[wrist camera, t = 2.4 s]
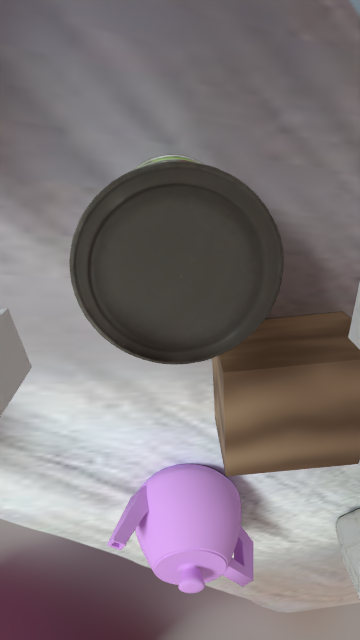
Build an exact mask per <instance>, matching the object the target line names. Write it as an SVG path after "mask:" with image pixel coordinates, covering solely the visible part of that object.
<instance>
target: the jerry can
mask: <svg viewBox="0 0 360 640" xmlns="http://www.w3.org/2000/svg"><path fill="white" fill-rule="evenodd" d="M336 532H337V536H338V541H339V546H340V551H341V555H342V559H343V562H344V564H345V566H346V569H347V571H348V573H349V576H350V578H351V580H352V583H353V585H354V587H355V590H356V592H357V594H358V596H359V599H360V508H359V509H357V510H355V511H353V512H350V513H348V514H346V515H344V516H342V517H340V518H339V519H338V520H337V523H336Z"/></svg>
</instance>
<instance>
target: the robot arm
mask: <svg viewBox="0 0 360 640" xmlns="http://www.w3.org/2000/svg"><path fill="white" fill-rule="evenodd" d="M348 338H349V339H350V340H351V341H352V342H353V343H354V344H355V345H356V346H357V347H358V348H359V349H360V283H359V288H358V292H357V297H356V302H355V307H354V312H353V316H352V321H351V326H350V331H349V336H348ZM30 369H31V364H30V362H29V359H28V357H27V354H26V352H25V349H24V347H23V344H22V342H21V339H20V337H19V334H18V332H17V329H16V327H15V324H14V322H13V319H12V317H11V315H10V312H9V310H8V308H3V309H0V417H1V415H2V413H3V412H4V410H5V409H6V407H7V405H8V404H9V402H10V401H11V399H12V398H13V396H14V394H15V393H16V391H17V390H18V388H19V386H20V385H21V383H22V382H23V380H24V379H25V377H26V375H27V374H28V372H29V371H30Z"/></svg>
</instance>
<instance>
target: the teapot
mask: <svg viewBox="0 0 360 640" xmlns="http://www.w3.org/2000/svg"><path fill="white" fill-rule="evenodd" d="M134 530H135V531H136V535H137V538H138V541H139V544H140V546H141V549H142V551H143V553H144V555H145V557H146V559H147V561H148V563H149V565H150V567H151V568H152V570H153V571H154V573H155V574H156V576H158V577H159V578H160V579H161V580H163V581H165V582H168V583H171V584H176V585H179V590H181V591H183V592H186V593H196V592H199V591H201V590H203V589H204V588H205V583H207V582H210V581H212V580H214V579H216V578H218V577H220V576H221V575H223V576H225V577H227V578H229V579H230V580H232V581H234V582H235V583H237V584H239V585H241V586H242V587H243V586H245V585H246V584H248V583H250V582H251V581H253V541H252V540H251V539H250V537H249V536H248V535H247V533H246V532H245V531H244V529H243V528H242V527H241V501H240V495H239V493H238V491H237V489H236V487H235V486H234V484H233V483H232V482H231V481H230V480H229V479H227V478H226V477H225V476H224V475H222V474H221V473H219V472H218V471H216V470H214V469H212V468H210V467H207V466H203V465H197V464H180V465H175V466H170V467H167V468H165V469H162V470H160V471H159V472H157V473H155V474H154V475H153V476H152V477H150V478H149V479H148V480H147V481H146V482H145V483H144V484H143V485H142V486H141V488H140V489H139V490H138V492H137V493H136V494H134V495H133V496H132V497H131V499H130V501H129V503H128V505H127V507H126V509H125V510H124V512H123V514H122V516H121V518H120V520H119V522H118V524H117V526H116V528H115V530H114V532H113V534H112V536H111V538H110V540H109V542H108V546H110V547H113V548H116V549H119V550H121V549H122V548H123V547H124V546H126V542H127V541H128V539H129V538H130V536H131V535H132V533H133V532H134ZM233 552H234V559H233V558H232V555H233Z"/></svg>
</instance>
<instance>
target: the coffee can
mask: <svg viewBox="0 0 360 640" xmlns="http://www.w3.org/2000/svg"><path fill="white" fill-rule="evenodd" d="M70 274H71V282H72V286H73V290H74V293H75V296H76V299H77V301H78V304H79V306H80V308H81V309H82V311H83V313H84V315H85V316H86V318H87V319H88V321H89V322H90V323H91V324H92V326H93V327H94V328H95V329H96V330H97V331H98V333H99V334H100V335H102V336H103V337H104V338H105V339H106V340H107V341H109V342H110V343H111V344H113V345H114V346H116V347H117V348H119V349H121V350H122V351H124V352H126V353H128V354H130V355H133V356H135V357H138V358H141V359H144V360H148V361H151V362H156V363H162V364H189V363H195V362H201V361H204V360H208V359H211V358H214V357H216V356H219V355H221V354H223V353H225V352H227V351H229V350H231V349H233V348H234V347H236V346H237V345H239V344H240V343H241V342H243V341H244V340H245V339H247V338H248V337H249V336H250V335H251V334H252V333H253V332H255V330H256V329H257V328H258V327H259V326H260V325H261V324H262V322H263V321H264V320H265V318H266V317H267V315H268V314H269V312H270V310H271V308H272V306H273V304H274V302H275V300H276V297H277V295H278V292H279V288H280V284H281V280H282V274H283V248H282V243H281V238H280V235H279V232H278V229H277V226H276V224H275V222H274V220H273V218H272V216H271V214H270V213H269V211H268V209H267V208H266V206H265V205H264V203H263V202H262V201H261V200H260V198H259V197H258V196H257V195H256V194H255V193H254V192H253V191H252V190H251V189H250V188H249V187H248V186H246V185H245V184H244V183H243V182H241V181H240V180H238V179H237V178H235V177H234V176H232V175H230V174H228V173H225V172H223V171H221V170H219V169H217V168H214V167H211V166H207V165H204V164H202V163H200V162H198V161H196V160H194V159H192V158H189V157H186V156H180V155H165V156H160V157H156V158H153V159H150V160H148V161H146V162H144V163H143V164H141V165H139V166H138V167H137V168H136V169H135V170H133V171H131V172H128V173H126V174H124V175H123V176H121V177H119V178H118V179H116V180H115V181H113V182H112V183H110V184H109V185H108V186H107V187H106V188H104V189H103V190H102V191H101V192H100V193H99V194H98V195H97V196H96V197H95V198H94V199H93V200H92V202H91V203H90V204H89V206H88V207H87V209H86V210H85V212H84V214H83V215H82V217H81V219H80V221H79V223H78V226H77V228H76V230H75V233H74V236H73V240H72V245H71V253H70Z"/></svg>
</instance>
